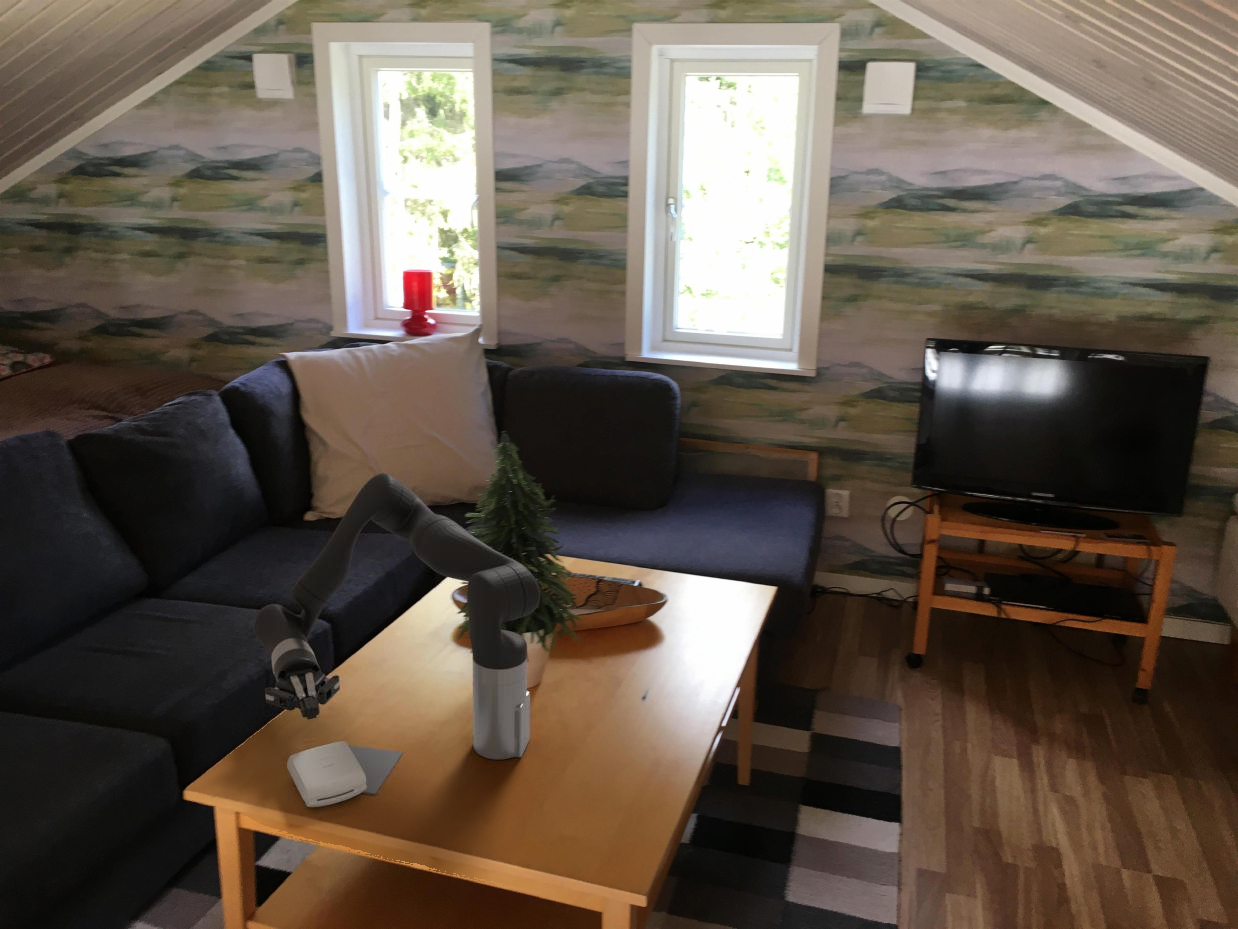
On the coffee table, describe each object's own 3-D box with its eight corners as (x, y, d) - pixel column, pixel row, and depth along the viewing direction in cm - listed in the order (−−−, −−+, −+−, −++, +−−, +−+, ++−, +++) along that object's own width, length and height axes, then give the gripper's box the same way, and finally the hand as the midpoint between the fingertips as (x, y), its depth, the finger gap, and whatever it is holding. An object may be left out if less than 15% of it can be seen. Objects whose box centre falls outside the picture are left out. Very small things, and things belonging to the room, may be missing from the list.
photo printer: (348, 736, 172) (370, 775, 162) (349, 758, 173) (372, 798, 163) (285, 753, 167) (304, 794, 157) (287, 775, 168) (306, 817, 158)
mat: (402, 753, 176) (402, 752, 176) (375, 795, 164) (375, 793, 164) (342, 745, 177) (342, 744, 177) (311, 786, 166) (311, 784, 166)
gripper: (255, 654, 180) (268, 702, 165) (331, 641, 186) (351, 686, 171) (258, 692, 182) (271, 742, 168) (333, 678, 188) (353, 725, 173)
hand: (311, 714), depth 169 cm, fingers closed
